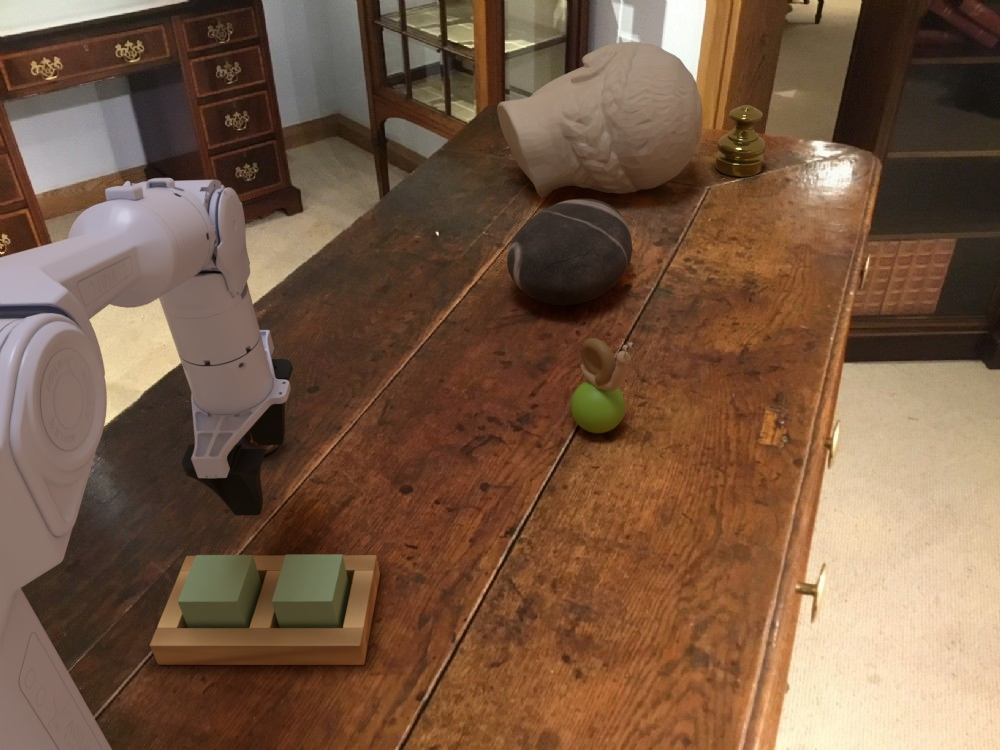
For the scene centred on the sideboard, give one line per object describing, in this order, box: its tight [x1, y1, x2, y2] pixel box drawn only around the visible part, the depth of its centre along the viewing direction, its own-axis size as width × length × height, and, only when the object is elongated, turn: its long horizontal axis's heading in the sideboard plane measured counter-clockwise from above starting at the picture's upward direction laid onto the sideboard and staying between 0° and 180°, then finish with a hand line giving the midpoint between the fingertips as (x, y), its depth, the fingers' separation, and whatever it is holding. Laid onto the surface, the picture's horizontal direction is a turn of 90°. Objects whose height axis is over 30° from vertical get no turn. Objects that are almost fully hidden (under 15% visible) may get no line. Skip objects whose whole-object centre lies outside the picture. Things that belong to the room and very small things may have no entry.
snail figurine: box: [570, 337, 634, 434], centre depth 82 cm, size 5×6×12 cm
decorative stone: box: [506, 198, 633, 307], centre depth 106 cm, size 19×14×10 cm
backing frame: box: [149, 554, 381, 666], centre depth 68 cm, size 9×16×2 cm, turn 89°
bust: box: [496, 41, 704, 199], centre depth 127 cm, size 21×24×30 cm
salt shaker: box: [714, 104, 767, 178], centre depth 133 cm, size 7×7×10 cm
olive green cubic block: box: [178, 554, 262, 628], centre depth 67 cm, size 5×5×5 cm
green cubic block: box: [272, 553, 350, 628], centre depth 67 cm, size 5×5×5 cm
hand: (260, 475), depth 68 cm, fingers open, 7 cm apart
